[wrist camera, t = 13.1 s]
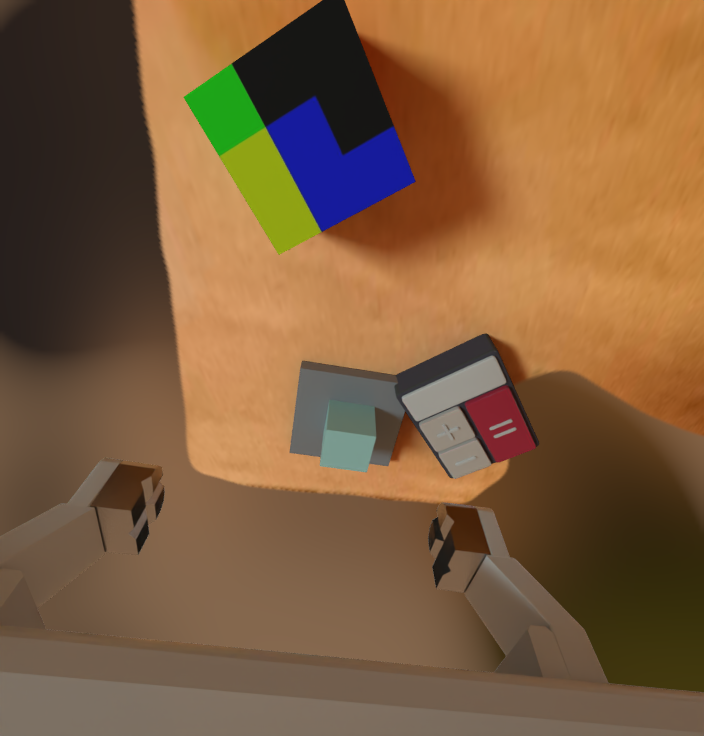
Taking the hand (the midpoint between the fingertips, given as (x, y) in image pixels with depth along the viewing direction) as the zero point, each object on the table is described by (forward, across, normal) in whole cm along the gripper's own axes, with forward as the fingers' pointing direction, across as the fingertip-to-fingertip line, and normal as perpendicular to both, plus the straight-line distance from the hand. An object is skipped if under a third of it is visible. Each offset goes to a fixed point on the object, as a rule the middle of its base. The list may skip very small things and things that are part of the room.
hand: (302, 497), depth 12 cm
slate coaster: (+29, -4, +19) cm, 35 cm away
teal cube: (+28, -4, +19) cm, 34 cm away
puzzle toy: (+29, +3, -8) cm, 31 cm away
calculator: (+30, -17, +16) cm, 38 cm away
